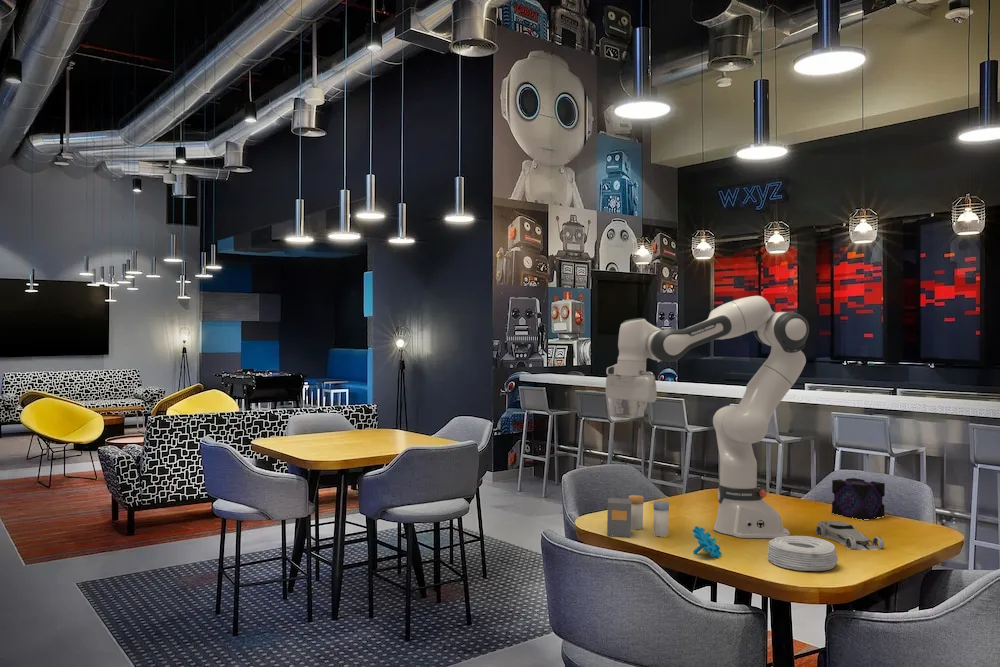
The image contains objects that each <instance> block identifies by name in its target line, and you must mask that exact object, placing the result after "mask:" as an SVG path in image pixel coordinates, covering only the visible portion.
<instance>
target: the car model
mask: <svg viewBox="0 0 1000 667" xmlns="http://www.w3.org/2000/svg"><path fill="white" fill-rule="evenodd" d="M814 533H815V534H816V535H817V536H818V535H820V536H822V537H821V538H824V537H825V538H824V539H827V538H829V539H828V540H830V539H831V541H833V540H834V542H836V541H837V542H836V543H838V542H839V543H838V544H840V543H842V544H844V545H845V546H844V545H843V546H844V547H845V548H847V547H848V548H847V549H849V548H850V549H849V550H854V549H860V550H859V551H862V550H861V549H867V550H870V549H879V550H882V549H881V548H883V549H884V548H885V541H884V539H883V537H881V536H875V537H873V539H872V540H871V539H870V538H869V537H868V536H867V535H866V534H864V533H862V532H861V531H859V530H858V529H855V527H854V525H852V524H850V523H847V522H844V521H841V520H840V521H839V520H824V521H823V520H822V521H817V526H816V528H815V530H814ZM820 536H819V537H820ZM842 544H841V545H842ZM870 544H871V545H870Z"/></svg>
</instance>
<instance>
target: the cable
mask: <svg viewBox="0 0 1000 667" xmlns="http://www.w3.org/2000/svg"><path fill="white" fill-rule="evenodd" d="M767 548H768V550H767V559H768V560H769V562H770V563H772V565H775V566H778V567H780V568H785V569H790V570H795V571H802V572H803V571H805V572H806V571H807V572H808V571H809V572H810V571H811V572H812V571H813V572H822V571H829V570H832V569H833V568H835V566H836V565H837V564H838V561H839V558H838V554H837V550H836V546H835V544H834V543H832V542H830V541H828V540H827V539H824V538H823V539H822V538H820V537H814V536H810V535H809V536H808V535H807V536H806V535H790V536H785V537H778V538H771V539H770V540H768V547H767Z"/></svg>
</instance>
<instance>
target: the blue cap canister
mask: <svg viewBox="0 0 1000 667" xmlns="http://www.w3.org/2000/svg"><path fill="white" fill-rule="evenodd" d="M669 511H670V502H669V501H663V500H655V501H653V533H652V534H654V535H655V536H654V535H653V536H654V537H656V536H660V537H659V538H665V537H664V536H668V537H669Z"/></svg>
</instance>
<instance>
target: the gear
mask: <svg viewBox="0 0 1000 667" xmlns="http://www.w3.org/2000/svg"><path fill="white" fill-rule="evenodd" d="M705 531H706V529H705V528H703V527H700V526H698V525H695V526H694V528H693V529H692V532H693V537H694V538H695V539H697V540H698V541H697V544H698V546H697V547H695V549H694V550H693V551H692V552H693V554H695V553H696V554H697V553H699V552H700V551H701V550H702V551H703V550H705V551H704V552H705V553H708V552H709V555H710V556H711V557H712V558H714V557H715V558H716V559H718V558H717V557H719V558H720V557H721V555H722V551H721V547H720V545H718V544H717V538H716V537H715V536H713V537H711V536H712V535H711V533H710V532H709V531H707V532H705Z"/></svg>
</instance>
